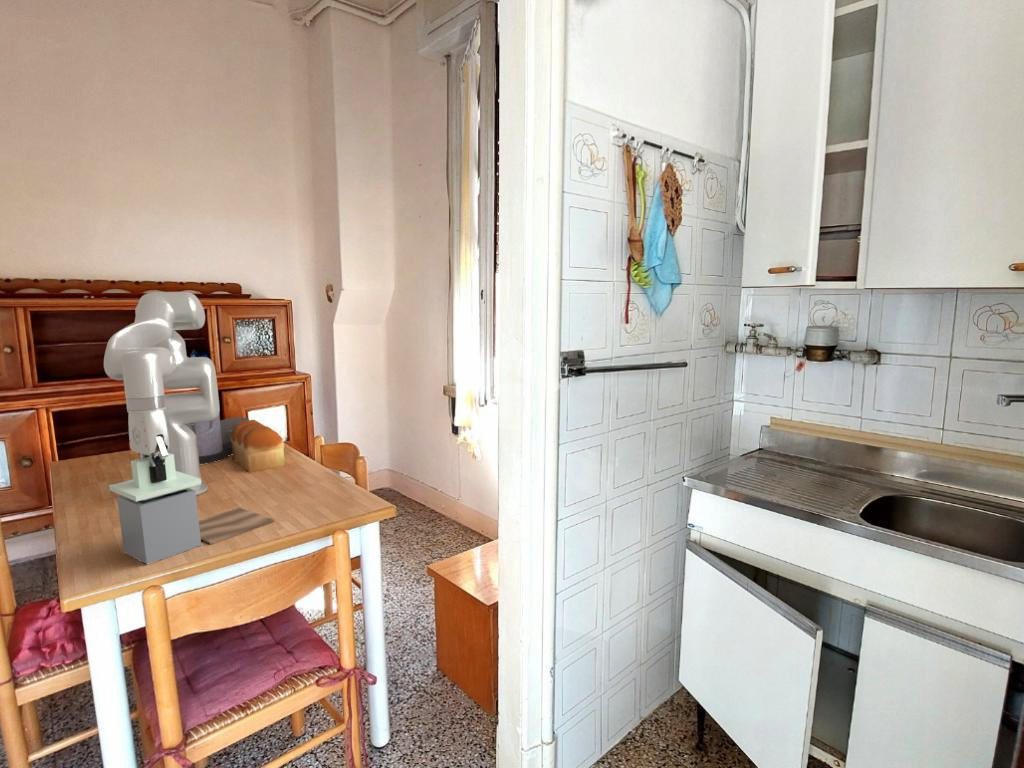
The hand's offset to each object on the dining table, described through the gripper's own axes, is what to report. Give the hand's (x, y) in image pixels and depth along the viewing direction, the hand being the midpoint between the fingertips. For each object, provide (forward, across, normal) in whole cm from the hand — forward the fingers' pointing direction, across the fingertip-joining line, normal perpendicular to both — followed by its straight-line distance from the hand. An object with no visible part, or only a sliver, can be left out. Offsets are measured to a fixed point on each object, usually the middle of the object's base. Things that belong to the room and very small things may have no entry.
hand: (155, 479), depth 131 cm
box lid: (+3, 0, 0) cm, 3 cm away
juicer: (+19, -75, +53) cm, 94 cm away
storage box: (+17, 0, 0) cm, 17 cm away
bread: (+19, -51, +55) cm, 77 cm away
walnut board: (+17, -1, +16) cm, 24 cm away
